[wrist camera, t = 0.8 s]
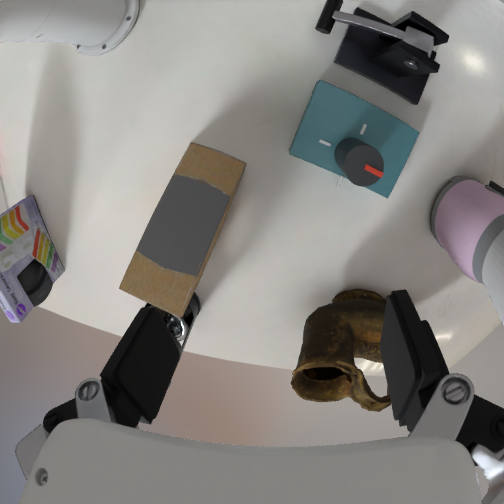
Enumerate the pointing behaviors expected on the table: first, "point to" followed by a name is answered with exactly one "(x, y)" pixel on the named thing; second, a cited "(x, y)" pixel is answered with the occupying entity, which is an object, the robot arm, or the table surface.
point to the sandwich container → (183, 230)
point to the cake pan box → (25, 260)
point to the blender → (473, 232)
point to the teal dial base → (351, 133)
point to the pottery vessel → (341, 350)
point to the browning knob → (359, 161)
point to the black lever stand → (391, 55)
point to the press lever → (372, 27)
